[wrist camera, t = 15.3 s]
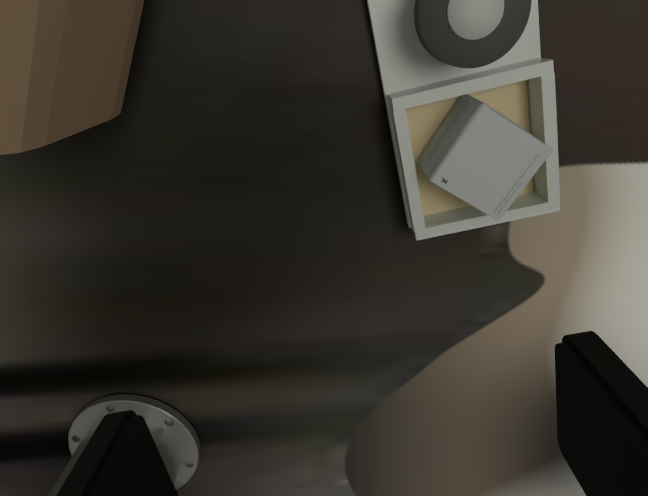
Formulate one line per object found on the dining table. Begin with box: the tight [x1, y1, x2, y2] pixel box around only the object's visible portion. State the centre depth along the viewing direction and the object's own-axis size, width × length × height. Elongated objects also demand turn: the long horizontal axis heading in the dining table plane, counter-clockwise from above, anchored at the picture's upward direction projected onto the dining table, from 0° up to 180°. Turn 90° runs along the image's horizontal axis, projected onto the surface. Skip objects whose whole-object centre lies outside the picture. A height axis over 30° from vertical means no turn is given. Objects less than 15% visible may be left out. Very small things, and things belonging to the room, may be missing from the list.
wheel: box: [414, 0, 531, 68], centre depth 28 cm, size 6×6×5 cm
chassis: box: [367, 0, 560, 240], centre depth 32 cm, size 18×10×4 cm, turn 13°
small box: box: [418, 94, 553, 220], centre depth 32 cm, size 6×6×5 cm
